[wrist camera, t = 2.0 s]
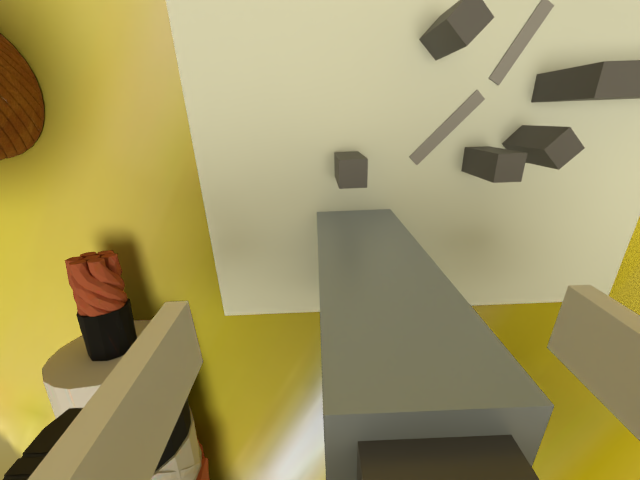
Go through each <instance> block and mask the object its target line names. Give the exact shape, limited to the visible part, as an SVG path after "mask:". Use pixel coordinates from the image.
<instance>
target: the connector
mask: <svg viewBox="0 0 640 480" xmlns="http://www.w3.org/2000/svg"><path fill="white" fill-rule="evenodd" d="M317 234H318V265H319V296H320V327H321V358H322V389H323V419H324V442H325V465H326V480H539V478H538V477H537V475H536V473H535V472H534V470H533V469H532V465H533V462H534V460H535V457H536V454H537V451H538V449H539V446H540V443H541V440H542V438H543V435H544V432H545V430H546V427H547V424H548V421H549V419H550V416H551V413H552V411H553V408H554V405H553V404H552V402H551V401H550V400H549V399H548V398H547V396H546V395H545V394H544V393H543V392H542V390H541V389H540V388H539V387H538V386H537V384H536V383H535V382H534V381H533V380H532V378H531V377H530V376H529V375H528V374H527V372H526V371H525V370H524V369H523V368H522V366H521V365H520V364H519V363H518V362H517V360H516V359H515V358H514V357H513V356H512V354H511V353H510V352H509V351H508V350H507V348H506V347H505V346H504V345H503V344H502V342H501V341H500V340H499V339H498V338H497V336H496V335H495V334H494V333H493V332H492V330H491V329H490V328H489V327H488V326H487V324H486V323H485V322H484V321H483V320H482V318H481V317H480V316H479V315H478V314H477V312H476V311H475V310H474V309H473V308H472V306H471V305H470V304H469V303H468V302H467V300H466V299H465V298H464V297H463V296H462V294H461V293H460V292H459V291H458V290H457V288H456V287H455V286H454V285H453V284H452V283H451V281H450V280H449V279H448V278H447V277H446V275H445V274H444V273H443V272H442V271H441V269H440V268H439V267H438V266H437V265H436V263H435V262H434V261H433V260H432V259H431V257H430V256H429V255H428V254H427V253H426V251H425V250H424V249H423V248H422V247H421V245H420V244H419V243H418V242H417V241H416V239H415V238H414V237H413V236H412V235H411V233H410V232H409V231H408V230H407V229H406V227H405V226H404V225H403V224H402V223H401V221H400V220H399V219H398V218H397V217H396V215H395V214H394V213H393V212H392V211H391V209H379V210H353V211H328V212H317Z"/></svg>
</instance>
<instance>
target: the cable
mask: <svg viewBox="0 0 640 480" xmlns="http://www.w3.org/2000/svg"><path fill="white" fill-rule="evenodd" d="M80 256H81V257H72V258H69V259H67V260H65V263H66V268H67V274H68V279H69V284H70V286H71V288H72V289H73V295H74V299H75V301H76V304H77V310H78V312H77V318H78V322H79V325H80V329H81V332H82V336H80V337H78V338H77V339H75V340H73V341H72V342H70V343H68V344H67V345H65V346H63V347H62V348H60V349H59V350H58V351H57V352H56V353H55V354H54V355H52V356H51V357H50V358H49V359H48V361H47V362H46V364H45V365H44V367H43V368H42V374H43V382H44V385H45V388H46V391H47V394H48V397H49V400H50V403H51V405H52V408H53V411H54V414H55V417H56V418H58V417H59V416H60V415H61V414H63V413H64V412H65V411H66V410H68V409H69V408H84V406H85V405H86V404H87V402H88V401H89V400H90V399H91V397H92V396H93V395H94V393H95V392H96V391H97V390H98V388H99V387H100V386H101V384H102V383H103V382H104V381H105V379H106V378H107V377H108V375H109V374H110V373H111V372H112V370H113V369H114V368H115V366H116V365H117V364H118V363H119V361H120V360H121V359H122V357H123V356H124V355H125V354H126V352H127V351H128V350H129V348H130V347H131V346H132V345H133V343H134V342H135V341H136V339H137V338H138V337H139V336H140V334H141V333H142V332H143V330H144V329H145V328H146V326H147V325H148V324H149V323H150V321H151V320H133V315H132V309H131V304H130V299H128V298H127V295H126V293H125V292H123V291H124V287H125V284H124V281H123V279H122V278H121V277H120V276H121V273H122V270H121V267H120V263H119V260H118V255H117V254H116V253H114V252H113V251H112V250H109V251H102V252H98V253H96V252H88V253H84V254H81V255H80ZM151 480H210V479H209V470H208V458H205V456H204V452H203V447H202V444H200V443H199V440H198V438H197V436H196V430H195V424H194V419H193V415H192V410H191V408H190V407H189V402H188V397H187V399H186V402H185V404H184V406H183V409H182V411H181V413H180V415H179V418H178V420H177V422H176V424H175V427H174V429H173V431H172V433H171V436H170V438H169V440H168V443H167V445H166V447H165V449H164V452H163V454H162V456H161V458H160V461H159V463H158V465H157V467H156V470H155V472H154V474H153V477H152V479H151Z"/></svg>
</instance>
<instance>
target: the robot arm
mask: <svg viewBox="0 0 640 480" xmlns="http://www.w3.org/2000/svg"><path fill="white" fill-rule="evenodd" d="M547 348H548V349H549V350H550V351H551V352H552V353H553V354H554V355H555V356H556V357H557V358H558V359H559V360H560V361H561V362H562V363H563V364H564V365H565V366H566V367H567V368H568V369H569V370H570V371H571V372H572V373H573V374H574V375H575V376H576V377H577V378H578V379H579V380H580V381H581V382H582V383H583V384H584V385H585V386H586V387H587V388H588V389H589V390H590V391H591V392H592V393H593V394H594V395H595V396H596V397H597V398H598V399H599V400H600V401H601V402H602V403H603V404H604V405H605V406H606V407H607V408H608V409H609V410H610V411H611V412H612V413H613V414H614V415H615V417H616V418H617V419H618V420H619V421H620V422H621V423H622V424H623V425H624V426H625V427H626V428H627V429H628V430H629V431H630V432H631V433H632V434H633V435H634V436H635V437H636V438H637V439H638V440H639V441H640V315H638V314H636V313H635V312H633V311H632V310H630V309H628V308H627V307H625V306H624V305H622V304H620V303H619V302H617V301H616V300H614V299H612V298H611V297H609V296H608V295H606V294H604V293H603V292H601V291H600V290H598V289H596V288H595V287H593V286H592V285H569V286H568V288H567V291H566V293H565V296H564V299H563V302H562V305H561V308H560V311H559V314H558V317H557V320H556V323H555V326H554V329H553V332H552V335H551V337H550V340H549V343H548V346H547ZM202 363H203V359H202V355H201V351H200V347H199V343H198V339H197V335H196V331H195V327H194V323H193V319H192V315H191V311H190V307H189V303H188V301H173V302H165V303H164V305H163V306H162V307H161V308H160V310H159V311H158V312H157V314H156V315H155V316H154V317H153V319H152V320H151V321H150V323H149V324H148V325H147V326H146V328H145V329H144V330H143V332H142V333H141V334H140V336H139V337H138V338H137V339H136V341H135V342H134V343H133V345H132V346H131V347H130V348H129V350H128V351H127V352H126V354H125V355H124V356H123V357H122V359H121V360H120V361H119V363H118V364H117V365H116V366H115V368H114V369H113V370H112V372H111V373H110V374H109V375H108V377H107V378H106V379H105V381H104V382H103V383H102V384H101V386H100V387H99V388H98V390H97V391H96V392H95V393H94V395H93V396H92V397H91V399H90V400H89V401H88V402H87V404H86V405H85V406H84V408H69V409H68V410H66V411H65V412H64V413H63V414H61V415H60V416H59V417H58V418H56V419H55V420H54V421H53V422H51V423H50V424H49V425H48V426H46V427H45V428H44V429H43V430H42V431H41V432H40V434H39V435H38V436H37V437H36V438H35V440H34V441H33V442H32V443H31V444H30V445H29V447H28V448H27V449H26V450H25V451H24V452H23V456H22V458H19V459H18V460H17V461H16V462H15V463H14V464H13V466H12V467H11V468H10V469H9V470H8V471H7V473H6V474H5V475H4V479H3V480H151V479H152V477H153V474H154V472H155V470H156V467H157V465H158V463H159V461H160V458H161V456H162V454H163V452H164V449H165V447H166V445H167V443H168V440H169V438H170V436H171V433H172V431H173V429H174V427H175V424H176V422H177V420H178V418H179V415H180V413H181V411H182V409H183V406H184V404H185V402H186V399H187V397H188V395H189V393H190V390H191V388H192V386H193V384H194V381H195V379H196V377H197V375H198V372H199V370H200V368H201V365H202Z"/></svg>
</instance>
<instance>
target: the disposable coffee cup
mask: <svg viewBox="0 0 640 480" xmlns="http://www.w3.org/2000/svg"><path fill="white" fill-rule="evenodd" d="M43 121H44V104H43V100H42V95H41V91H40V88H39V86H38V83H37V81H36V78H35V76H34V74H33V72H32V71H31V69H30V67H29V65H28V64H27V62H26V61H25V59H24V58H23V57H22V56H21V55H20V53H19V52H18V51H17V50H16V48H15V47H14V46H13V45H12V44H11V43H10V42H9V41H8V40H7V39H6V38H5V37H3V36H2V35H1V34H0V160H2V159H5V158H11V157H14V156H17V155H20V154H22V153H24V152H25V151H26V150H28V149H29V148H30V147H32V146H33V144H34V143H35V142H36V140H37V139H38V137H39V135H40V133H41V131H42V127H43Z"/></svg>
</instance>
